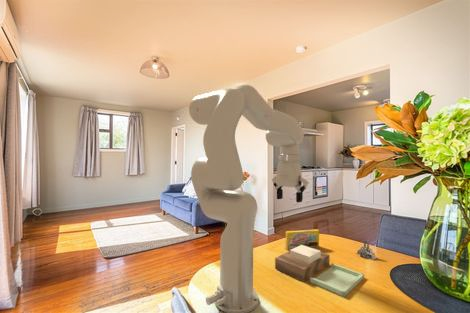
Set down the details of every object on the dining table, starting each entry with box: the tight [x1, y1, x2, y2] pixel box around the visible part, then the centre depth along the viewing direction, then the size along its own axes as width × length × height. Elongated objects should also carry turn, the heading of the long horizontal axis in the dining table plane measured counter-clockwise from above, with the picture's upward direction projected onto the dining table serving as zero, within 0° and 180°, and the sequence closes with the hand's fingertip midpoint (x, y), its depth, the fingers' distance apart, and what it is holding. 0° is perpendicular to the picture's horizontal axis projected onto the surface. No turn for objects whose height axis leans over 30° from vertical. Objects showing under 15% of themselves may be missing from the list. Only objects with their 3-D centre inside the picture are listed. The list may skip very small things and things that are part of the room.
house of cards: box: [355, 239, 378, 261], centre depth 94 cm, size 9×9×8 cm
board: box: [274, 250, 331, 283], centre depth 86 cm, size 18×12×4 cm, turn 132°
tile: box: [289, 245, 322, 264], centre depth 85 cm, size 8×8×2 cm
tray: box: [309, 263, 365, 298], centre depth 76 cm, size 16×11×2 cm
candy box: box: [284, 228, 320, 251], centre depth 104 cm, size 16×2×8 cm, turn 104°
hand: (289, 200), depth 94 cm, fingers open, 9 cm apart
